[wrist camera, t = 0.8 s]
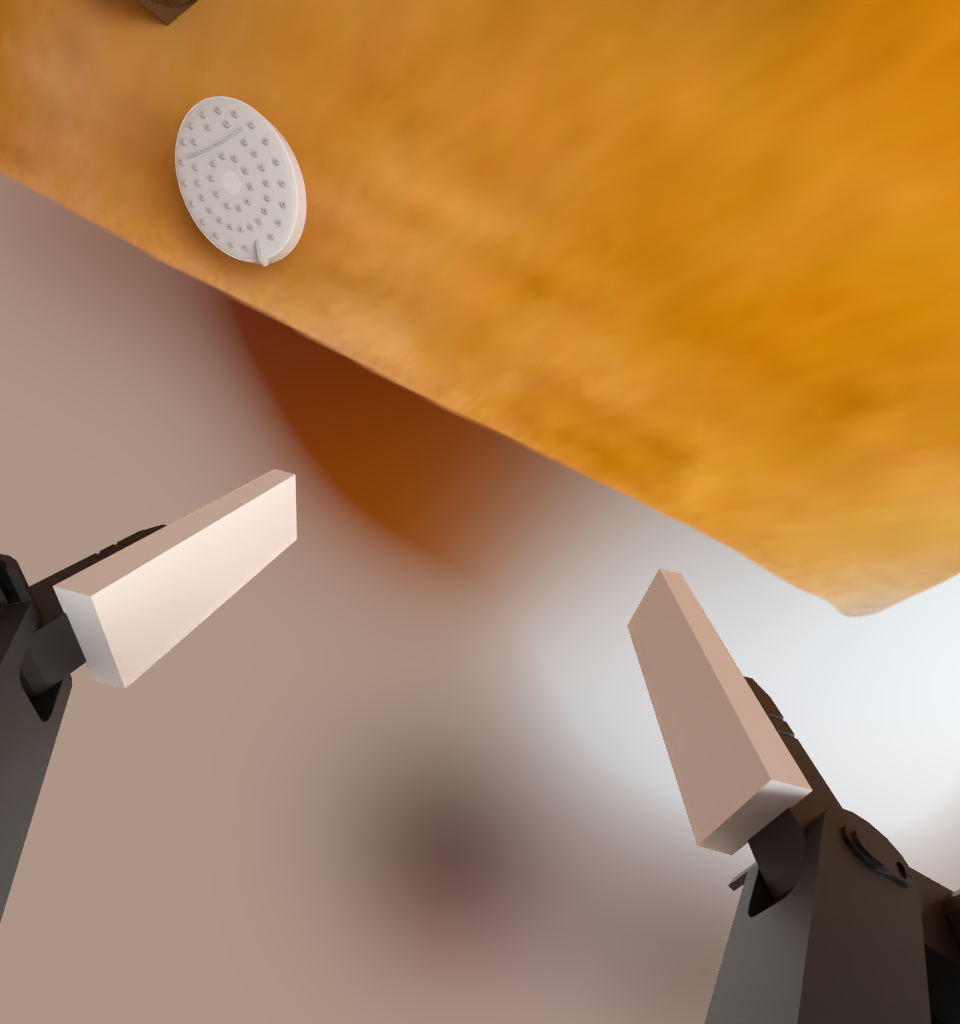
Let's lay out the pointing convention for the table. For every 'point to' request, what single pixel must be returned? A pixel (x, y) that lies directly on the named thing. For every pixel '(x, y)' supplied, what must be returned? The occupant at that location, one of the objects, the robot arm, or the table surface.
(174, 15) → the pipe in
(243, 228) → the showerhead
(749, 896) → the robot arm
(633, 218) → the table surface
